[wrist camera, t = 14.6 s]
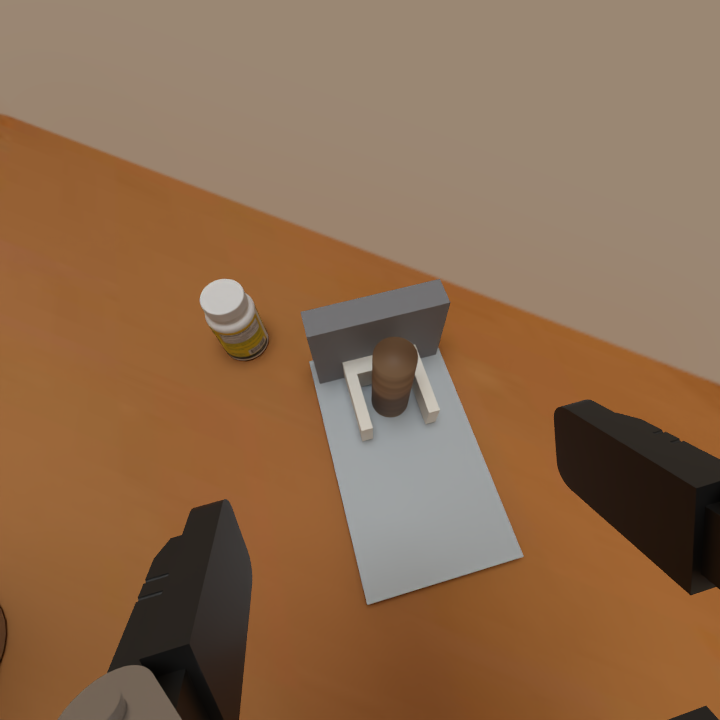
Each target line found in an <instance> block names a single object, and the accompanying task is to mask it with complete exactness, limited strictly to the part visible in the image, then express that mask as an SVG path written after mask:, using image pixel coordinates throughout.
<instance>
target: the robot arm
mask: <svg viewBox="0 0 720 720" xmlns="http://www.w3.org/2000/svg"><path fill="white" fill-rule="evenodd" d="M554 427H555V442H556V456H557V466H558V469H559V472H560V475H561V477H562V479H563V480H564V482H565V483H566V485H567V486H568V487H569V488H570V489H571V490H572V491H573V492H574V493H575V494H577V495H578V496H579V497H580V498H581V499H582V500H583V501H584V502H586V503H587V504H588V505H589V506H590V507H591V508H592V509H593V510H595V511H596V512H597V513H598V514H599V515H600V516H601V517H603V518H604V519H605V520H606V521H607V522H608V523H609V524H610V525H612V526H613V527H614V528H615V529H616V530H617V531H618V532H620V533H621V534H622V535H623V536H624V537H625V538H626V539H627V540H629V541H630V542H631V543H632V544H633V545H634V546H635V547H637V548H638V549H639V550H640V551H641V552H642V553H643V554H644V555H646V556H647V557H648V558H649V559H650V560H651V561H652V562H654V563H655V564H656V565H657V566H658V567H659V568H660V569H661V570H663V571H664V572H665V573H666V574H667V575H668V576H669V577H671V578H672V579H673V580H674V581H675V582H676V583H677V584H678V585H680V586H681V587H682V588H683V589H684V590H685V591H686V592H688V593H689V594H690V595H693V594H696V593H699V592H702V591H705V590H708V589H711V588H714V587H717V588H719V589H720V459H718V458H716V457H714V456H712V455H710V454H708V453H706V452H704V451H702V450H700V449H698V448H696V447H694V446H692V445H691V444H689V443H687V442H685V441H682V442H681V441H680V440H679V438H677V437H675V436H673V435H671V434H669V433H667V432H664V433H663V432H662V430H661V429H659V428H657V427H655V426H653V425H651V424H649V423H647V422H646V421H644V420H642V419H638V418H634V417H630V416H627V415H623V414H619V413H614V412H613V411H611V410H609V409H607V408H605V407H603V406H601V405H599V404H598V403H596V402H594V401H592V400H583V401H580V402H576V403H572V404H569V405H565V406H562V407H558V408H557V409H556V410H555V413H554ZM145 580H146V583H145V584H143V587H142V589H141V591H140V594H139V596H138V602H136V604H135V606H134V609H133V611H132V613H131V616H130V618H129V621H128V623H127V626H126V628H125V630H124V633H123V635H122V638H121V640H120V643H119V645H118V648H117V650H116V652H115V655H114V657H113V660H112V662H111V665H110V667H109V669H108V672H107V674H105V675H103V676H102V677H100V678H99V679H97V680H96V681H94V682H93V683H92V684H90V685H89V686H88V687H86V688H85V689H84V690H83V691H82V692H81V693H80V694H79V695H78V696H77V697H76V698H75V699H74V700H73V701H72V702H71V703H70V704H69V705H68V706H67V708H66V709H65V710H64V711H63V713H62V714H61V716H60V717H59V718H58V720H239V713H240V703H241V693H242V682H243V672H244V662H245V651H246V641H247V631H248V620H249V610H250V600H251V589H252V568H251V562H250V557H249V554H248V551H247V548H246V545H245V542H244V540H243V537H242V534H241V531H240V529H239V526H238V523H237V520H236V517H235V515H234V512H233V509H232V507H231V504H230V503H229V501H228V500H226V499H224V500H221V501H217V502H214V503H210V504H206V505H203V506H199V507H196V508H193V509H192V510H191V511H190V514H189V517H188V519H187V522H186V525H185V528H184V531H183V534H182V535H181V536H177V537H174V538H171V539H170V540H169V541H168V542H167V544H166V545H165V546H164V547H163V548H162V550H161V551H160V552H159V553H158V554H157V556H156V557H155V558H154V560H153V562H152V565H151V567H150V569H149V572H148V574H147V577H146V579H145ZM5 637H6V629H5V620H4V616H3V613H2V610H1V608H0V660H1V657H2V653H3V650H4V644H5ZM669 720H719V719H718V718H717V717H716V716H715V715H714V714H713V713H712V712H711V711H710V709H709V708H708V707H707V706H704V707H701V708H699V709H696V710H693V711H691V712H688V713H685V714H682V715H680V716H677V717H674V718H672V719H669Z"/></svg>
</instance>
